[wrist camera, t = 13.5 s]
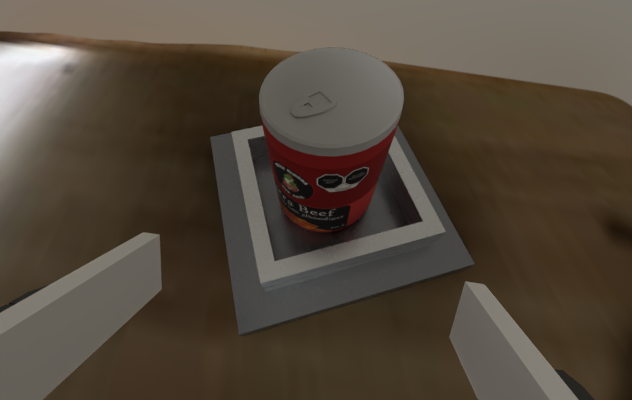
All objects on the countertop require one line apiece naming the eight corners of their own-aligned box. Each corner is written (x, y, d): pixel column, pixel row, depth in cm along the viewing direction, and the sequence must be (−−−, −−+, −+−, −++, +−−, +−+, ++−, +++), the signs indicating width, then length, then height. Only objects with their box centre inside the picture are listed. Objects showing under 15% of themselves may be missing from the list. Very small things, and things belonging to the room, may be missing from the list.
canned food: (260, 201, 25) (226, 100, 15) (318, 143, 28) (320, 28, 18) (333, 255, 23) (347, 177, 13) (387, 186, 26) (431, 81, 16)
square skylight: (214, 147, 30) (201, 118, 26) (381, 112, 32) (390, 81, 29) (243, 336, 21) (229, 331, 18) (466, 269, 24) (492, 253, 20)
